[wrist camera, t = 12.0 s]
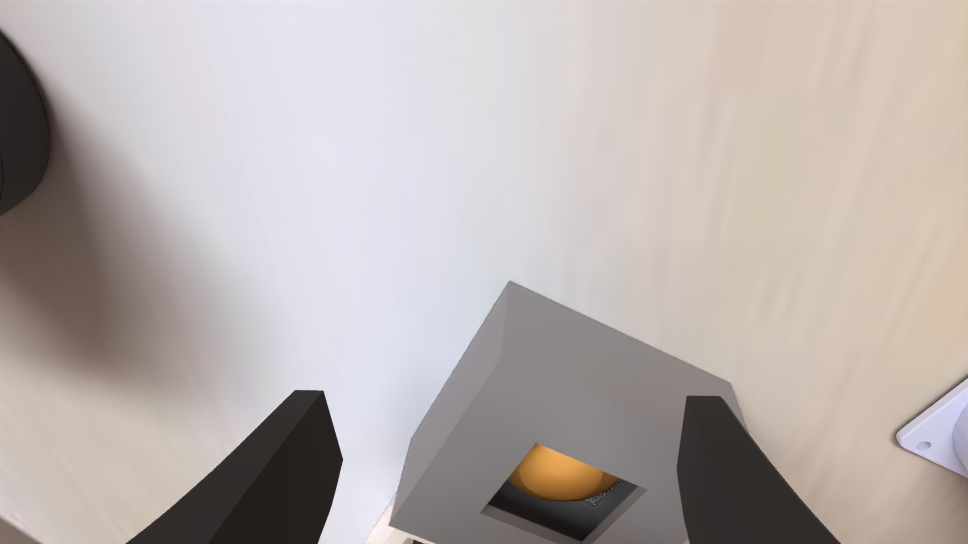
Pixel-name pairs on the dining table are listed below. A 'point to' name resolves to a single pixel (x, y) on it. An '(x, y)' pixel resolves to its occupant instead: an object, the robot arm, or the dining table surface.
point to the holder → (390, 531)
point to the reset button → (558, 477)
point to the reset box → (551, 432)
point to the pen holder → (20, 131)
